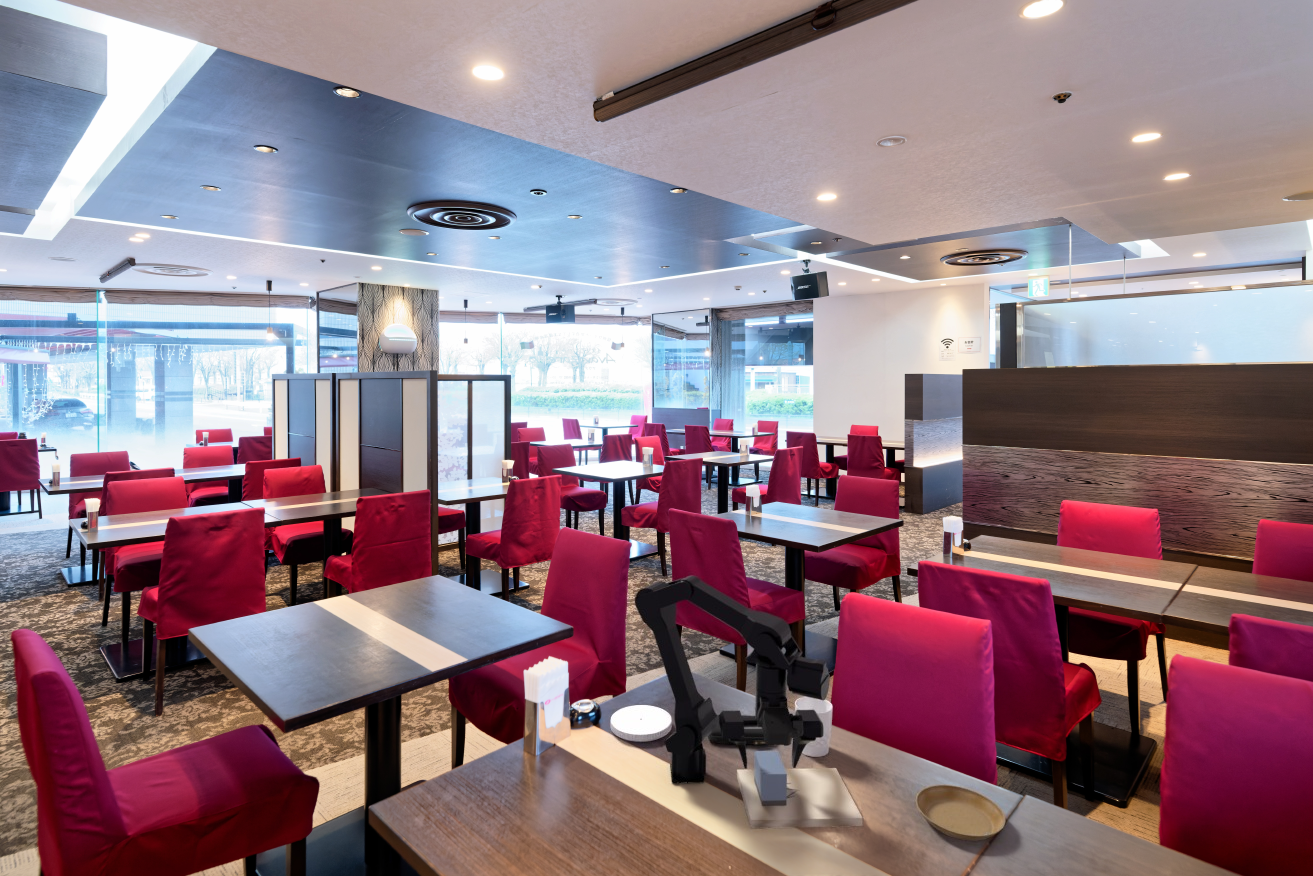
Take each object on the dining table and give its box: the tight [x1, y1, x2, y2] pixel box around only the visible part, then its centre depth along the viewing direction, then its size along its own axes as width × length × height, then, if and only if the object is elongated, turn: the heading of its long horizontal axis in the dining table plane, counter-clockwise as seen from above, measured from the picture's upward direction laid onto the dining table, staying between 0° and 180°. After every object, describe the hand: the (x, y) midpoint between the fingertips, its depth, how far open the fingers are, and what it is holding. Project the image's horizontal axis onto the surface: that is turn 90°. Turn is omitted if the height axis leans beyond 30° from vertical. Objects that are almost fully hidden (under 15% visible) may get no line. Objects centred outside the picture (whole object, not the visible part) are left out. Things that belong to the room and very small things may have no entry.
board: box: [736, 767, 863, 829], centre depth 129 cm, size 20×16×2 cm
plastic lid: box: [610, 704, 673, 743], centre depth 155 cm, size 14×14×2 cm
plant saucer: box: [915, 784, 1006, 842], centre depth 122 cm, size 15×15×3 cm
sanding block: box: [753, 750, 787, 806], centre depth 128 cm, size 4×8×6 cm, turn 2°
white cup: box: [794, 696, 834, 758], centre depth 146 cm, size 8×8×10 cm
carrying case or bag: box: [707, 714, 767, 746], centre depth 152 cm, size 11×3×15 cm
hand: (769, 767), depth 128 cm, fingers open, 9 cm apart
